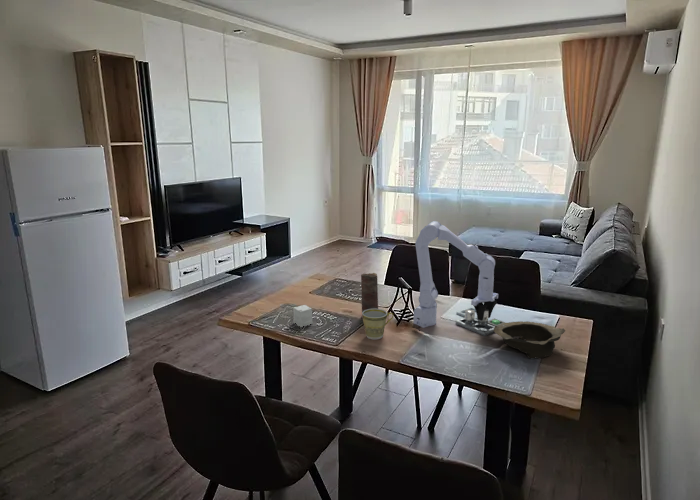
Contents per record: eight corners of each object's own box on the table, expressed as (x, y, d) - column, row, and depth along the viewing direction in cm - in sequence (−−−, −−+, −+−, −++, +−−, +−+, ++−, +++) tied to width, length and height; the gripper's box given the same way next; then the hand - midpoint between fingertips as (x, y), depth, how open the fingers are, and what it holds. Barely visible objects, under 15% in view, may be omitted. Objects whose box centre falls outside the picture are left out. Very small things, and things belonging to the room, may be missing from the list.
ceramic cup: (366, 342, 178) (366, 319, 176) (359, 332, 188) (359, 309, 185) (397, 338, 182) (398, 315, 179) (388, 329, 191) (389, 306, 189)
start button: (496, 328, 190) (496, 323, 190) (490, 326, 193) (490, 320, 192) (500, 326, 192) (501, 321, 191) (494, 324, 194) (495, 319, 194)
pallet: (484, 338, 181) (484, 332, 181) (455, 326, 193) (455, 320, 193) (497, 333, 186) (497, 327, 185) (468, 321, 198) (468, 316, 197)
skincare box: (305, 320, 202) (305, 304, 200) (312, 324, 197) (312, 308, 195) (293, 323, 198) (292, 307, 196) (300, 327, 193) (299, 311, 191)
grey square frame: (474, 322, 196) (474, 318, 196) (456, 315, 204) (456, 311, 204) (488, 317, 202) (489, 313, 201) (470, 310, 210) (471, 306, 209)
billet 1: (470, 327, 189) (470, 313, 188) (462, 324, 192) (463, 311, 191) (476, 325, 192) (477, 311, 190) (468, 322, 195) (469, 308, 193)
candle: (358, 318, 203) (358, 275, 198) (364, 312, 209) (364, 270, 204) (375, 320, 200) (375, 276, 195) (380, 314, 207) (380, 272, 202)
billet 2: (483, 326, 183) (483, 312, 182) (475, 323, 187) (476, 309, 185) (490, 324, 185) (490, 310, 184) (482, 321, 189) (483, 307, 187)
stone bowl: (558, 369, 156) (558, 344, 154) (485, 357, 170) (484, 333, 168) (568, 341, 177) (568, 318, 175) (502, 332, 190) (501, 311, 188)
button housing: (497, 330, 188) (497, 326, 188) (485, 326, 193) (485, 321, 192) (506, 327, 192) (506, 322, 191) (494, 322, 196) (494, 318, 196)
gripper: (482, 292, 175) (480, 325, 178) (505, 285, 183) (503, 317, 186) (467, 288, 180) (465, 320, 184) (490, 281, 188) (488, 312, 192)
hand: (483, 318), depth 185 cm, fingers closed on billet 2, 4 cm apart
